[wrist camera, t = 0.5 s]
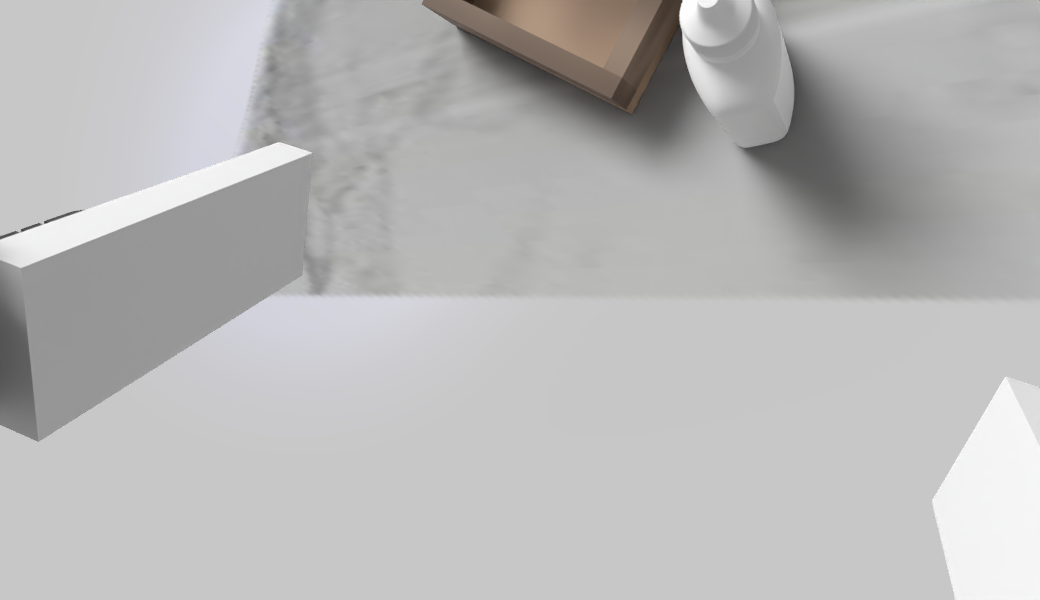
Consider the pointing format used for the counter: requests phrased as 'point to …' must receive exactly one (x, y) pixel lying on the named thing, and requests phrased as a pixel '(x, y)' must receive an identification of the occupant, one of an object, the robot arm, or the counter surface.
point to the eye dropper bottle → (740, 67)
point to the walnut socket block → (576, 38)
